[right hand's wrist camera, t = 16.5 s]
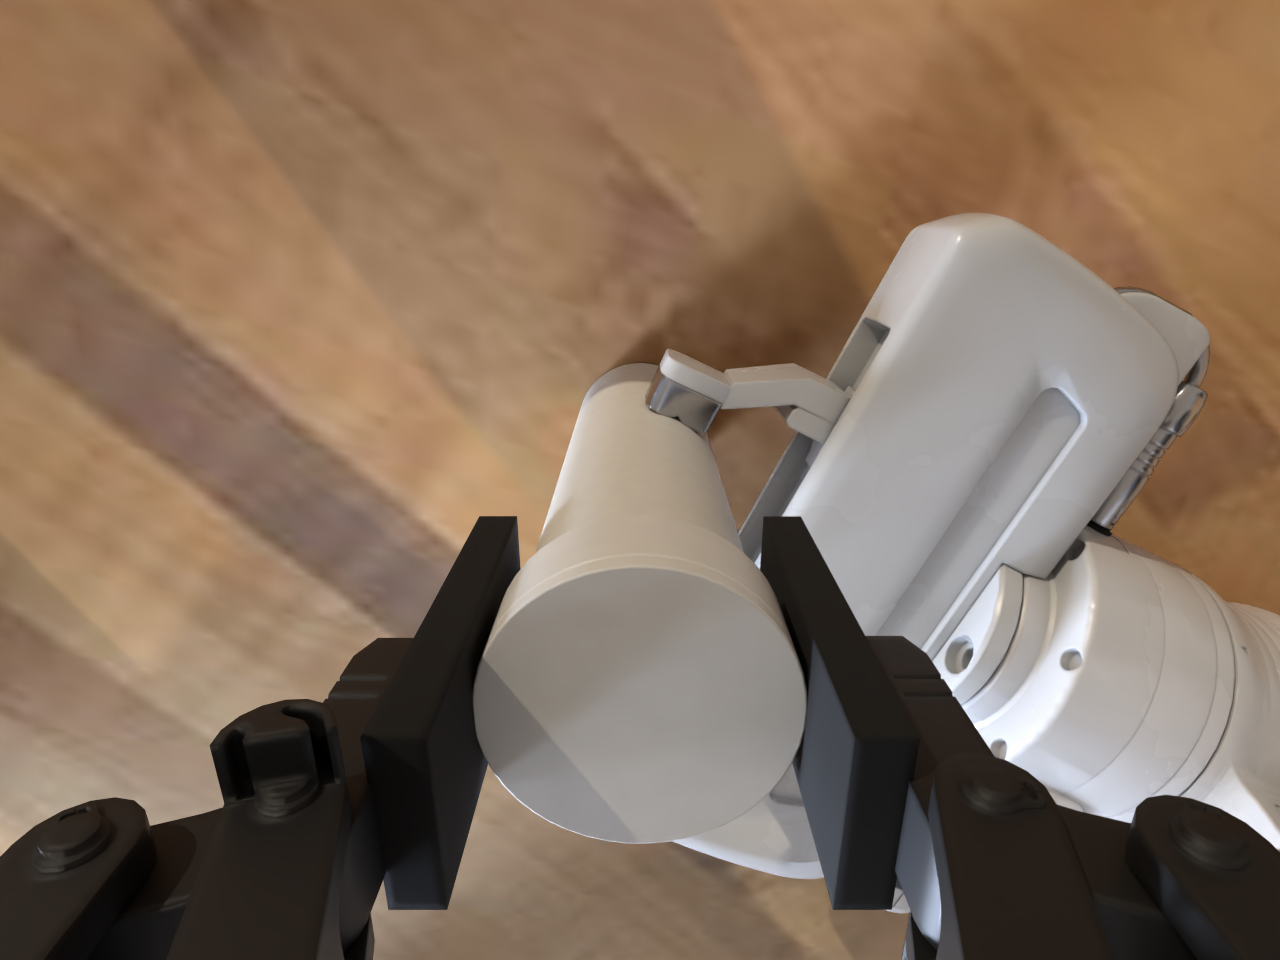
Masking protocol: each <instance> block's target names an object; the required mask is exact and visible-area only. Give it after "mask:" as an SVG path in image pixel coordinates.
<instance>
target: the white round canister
mask: <svg viewBox="0 0 1280 960" xmlns="http://www.w3.org/2000/svg"><path fill="white" fill-rule="evenodd" d="M473 708H474V719H475V728H476V735H477V739H478V742H479V744H480V747H481V749H482V752H483V754H484V757H485V758H486V760H487V762H488V764H489V765H490V767H491V769H492V771H493V772H494V774H495V775H496V776H497V777H498V779H499V780H500V781H501V783H502V784H503V785H504V787H505V788H506V789H507V790H508V791H509V792H510V793H511V794H512V795H513V796H514V797H515V798H516V799H517V800H519V801H520V802H521V803H522V804H524V805H525V806H526V807H528V808H529V809H530V810H531V811H533V812H534V813H536V814H538V815H539V816H541V817H543V818H544V819H546V820H548V821H549V822H551V823H553V824H556V825H558V826H560V827H562V828H564V829H566V830H569V831H572V832H575V833H578V834H581V835H584V836H587V837H591V838H596V839H600V840H605V841H612V842H620V843H641V844H647V843H660V842H669V841H674V840H680V839H685V838H689V837H692V836H696V835H699V834H703V833H706V832H708V831H711V830H713V829H716V828H718V827H720V826H723V825H725V824H727V823H728V822H730V821H732V820H734V819H736V818H738V817H739V816H741V815H743V814H744V813H745V812H747V811H748V810H750V809H751V808H752V807H754V806H755V805H757V804H758V803H759V802H760V801H761V800H762V799H763V798H764V797H765V796H767V795H768V794H769V793H770V792H771V791H772V790H773V788H774V787H775V786H776V785H777V784H778V783H779V781H780V780H781V779H782V778H783V776H784V775H785V773H786V772H787V770H788V768H789V767H790V765H791V764H792V762H793V760H794V758H795V756H796V753H797V751H798V749H799V747H800V744H801V741H802V737H803V734H804V730H805V722H806V712H807V688H806V683H805V678H804V673H803V670H802V667H801V664H800V661H799V659H798V656H797V653H796V650H795V647H794V645H793V642H792V639H791V636H790V634H789V631H788V628H787V625H786V622H785V620H784V617H783V614H782V611H781V608H780V606H779V603H778V600H777V597H776V595H775V593H774V591H773V589H772V588H771V586H770V584H769V582H768V580H767V579H766V577H765V576H764V575H763V573H762V572H761V571H760V569H759V568H758V567H757V566H756V565H755V564H754V563H753V562H752V561H751V560H750V559H749V558H748V557H747V556H746V555H745V554H744V553H743V552H742V551H741V550H739V549H738V548H737V547H736V546H734V545H733V544H732V543H730V542H729V541H727V540H726V539H724V538H722V537H720V536H719V535H717V534H715V533H713V532H711V531H709V530H707V529H704V528H702V527H699V526H697V525H694V524H691V523H688V522H684V521H680V520H677V519H672V518H665V517H658V516H637V515H633V516H623V517H613V518H608V519H604V520H600V521H595V522H592V523H589V524H586V525H583V526H580V527H578V528H575V529H573V530H571V531H569V532H567V533H565V534H563V535H561V536H559V537H557V538H556V539H554V540H553V541H551V542H550V543H548V544H547V545H545V546H544V547H543V548H541V549H540V550H539V551H538V552H537V553H536V554H535V555H533V556H532V557H531V558H530V559H529V560H528V561H527V562H526V563H525V565H524V566H523V567H522V568H521V569H520V571H519V572H518V573H517V574H516V576H515V577H514V579H513V581H512V582H511V584H510V585H509V587H508V589H507V591H506V593H505V595H504V598H503V600H502V602H501V605H500V607H499V610H498V613H497V616H496V618H495V621H494V624H493V627H492V629H491V632H490V635H489V638H488V640H487V643H486V646H485V649H484V651H483V654H482V657H481V659H480V662H479V665H478V669H477V673H476V676H475V680H474V685H473Z"/></svg>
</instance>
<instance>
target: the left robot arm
mask: <svg viewBox="0 0 1280 960" xmlns="http://www.w3.org/2000/svg"><path fill="white" fill-rule="evenodd" d="M1209 342H1210V334H1209V332H1208V330H1207V329H1206V327H1205V326H1204V325H1203V324H1202V323H1201V322H1200V321H1199V320H1198V319H1196V318H1195V317H1194V316H1193V315H1192V314H1191V313H1189V312H1187V311H1186V310H1184V309H1182V308H1180V307H1178V306H1177V305H1175V304H1173V303H1171V302H1169V301H1167V300H1166V299H1164V298H1162V297H1160V296H1158V295H1157V294H1155V293H1153V292H1151V291H1149V290H1146V289H1142V288H1137V287H1130V286H1128V287H1116V288H1112V287H1111V286H1110V285H1108V284H1107V283H1106V282H1105V281H1103V280H1102V279H1101V278H1100V277H1098V276H1097V275H1096V274H1095V273H1093V272H1092V271H1091V270H1090V269H1088V268H1087V267H1085V266H1084V265H1083V264H1081V263H1080V262H1079V261H1077V260H1076V259H1075V258H1073V257H1072V256H1070V255H1069V254H1068V253H1066V252H1065V251H1063V250H1062V249H1060V248H1059V247H1058V246H1056V245H1055V244H1053V243H1051V242H1050V241H1048V240H1047V239H1045V238H1044V237H1042V236H1041V235H1039V234H1037V233H1036V232H1034V231H1033V230H1031V229H1029V228H1027V227H1026V226H1024V225H1022V224H1020V223H1018V222H1016V221H1014V220H1013V219H1010V218H1007V217H1003V216H999V215H995V214H987V213H963V214H957V215H952V216H948V217H945V218H941V219H937V220H934V221H931V222H928V223H925V224H922V225H919V226H917V227H916V228H914V229H913V230H912V231H911V232H910V233H909V235H908V236H907V237H906V239H905V241H904V242H903V244H902V246H901V248H900V249H899V251H898V253H897V255H896V256H895V258H894V260H893V262H892V263H891V265H890V267H889V269H888V270H887V272H886V274H885V276H884V278H883V279H882V281H881V283H880V285H879V286H878V288H877V290H876V292H875V293H874V295H873V297H872V299H871V300H870V302H869V304H868V306H867V307H866V309H865V311H864V313H863V314H862V316H861V318H860V320H859V321H858V323H857V325H856V327H855V328H854V330H853V332H852V334H851V335H850V337H849V339H848V341H847V342H846V344H845V346H844V348H843V349H842V351H841V353H840V355H839V357H838V358H837V360H836V362H835V364H834V365H833V367H832V369H831V371H830V372H829V374H828V376H827V378H824V377H822V376H820V375H817V374H815V373H813V372H811V371H809V370H807V369H805V368H803V367H801V366H799V365H797V364H795V363H788V364H777V365H767V366H756V367H745V368H735V369H726V370H725V372H724V373H722V372H720V371H718V370H716V369H714V368H712V367H710V366H707V365H705V364H703V363H701V362H699V361H697V360H695V359H693V358H691V357H689V356H686V355H684V354H682V353H680V352H677V351H674V350H671V349H667V350H666V352H665V354H664V356H663V358H662V361H661V363H660V365H659V366H658V369H657V371H656V373H655V375H654V377H653V379H652V382H651V384H650V386H649V388H648V390H647V392H646V395H645V398H646V400H645V404H646V405H647V406H648V407H649V408H650V409H652V410H653V411H655V412H657V413H659V414H661V415H663V416H666V417H675V416H678V417H679V419H680V421H681V422H682V424H684V425H685V426H687V427H689V428H691V429H693V430H695V431H698V432H700V433H702V434H704V435H705V434H706V432H707V430H708V428H709V426H710V425H711V423H712V421H713V419H714V417H715V416H716V414H717V412H718V410H719V408H720V409H738V408H754V407H771V406H774V408H775V409H776V410H777V412H778V413H779V415H780V416H781V417H782V419H783V420H784V421H785V423H786V424H787V426H788V427H789V428H791V429H793V430H795V431H796V432H795V434H794V435H793V437H792V439H791V441H790V443H789V444H788V446H787V448H786V450H785V451H784V453H783V455H782V457H781V458H780V460H779V462H778V464H777V465H776V467H775V469H774V471H773V472H772V474H771V476H770V478H769V479H768V481H767V483H766V485H765V486H764V488H763V490H762V492H761V493H760V495H759V497H758V499H757V500H756V502H755V504H754V506H753V507H752V509H751V511H750V513H749V515H748V516H747V518H746V520H745V522H744V523H743V525H742V527H741V529H740V530H739V532H738V535H739V538H740V541H741V544H742V548H743V551H744V554H745V555H746V556H747V557H748V558H749V559H750V560H751V561H752V562H753V563H754V564H755V565H756V566H757V567H758V568H759V569H760V562H761V546H762V531H763V516H801V518H802V520H803V521H804V523H805V525H806V527H807V529H808V531H809V532H810V534H811V536H812V538H813V540H814V542H815V544H816V545H817V547H818V549H819V551H820V553H821V555H822V557H823V558H824V560H825V562H826V564H827V566H828V568H829V570H830V571H831V573H832V575H833V577H834V579H835V581H836V583H837V584H838V586H839V588H840V590H841V592H842V594H843V595H844V597H845V599H846V601H847V603H848V605H849V607H850V608H851V610H852V612H853V614H854V616H855V618H856V620H857V621H858V623H859V625H860V627H861V629H862V631H863V633H864V634H865V636H904V637H905V638H906V639H908V640H909V641H910V642H912V643H913V644H914V645H916V646H917V647H918V648H920V649H921V650H923V651H924V652H925V653H927V655H928V656H929V658H930V659H931V661H932V662H933V664H934V665H935V667H936V668H937V670H938V671H939V673H940V674H941V679H944V680H945V682H946V683H947V685H948V686H949V688H950V689H951V691H952V695H953V697H956V698H957V700H958V702H959V703H960V705H961V706H962V708H963V709H964V711H965V712H966V714H967V715H968V717H969V718H970V720H971V721H972V723H973V724H974V726H975V727H976V729H977V730H978V732H979V733H980V735H981V736H982V738H983V739H984V741H985V742H986V744H987V745H988V747H989V749H990V750H991V752H992V753H993V755H994V756H995V757H997V758H1000V759H1004V760H1007V761H1009V762H1011V763H1012V764H1014V765H1016V766H1018V767H1020V768H1022V769H1024V770H1026V771H1028V772H1029V773H1030V774H1031V775H1032V776H1034V777H1035V778H1036V779H1037V780H1038V781H1040V782H1041V783H1042V784H1043V785H1044V786H1045V787H1046V788H1047V790H1048V792H1049V793H1050V795H1051V796H1052V798H1053V799H1054V801H1055V803H1056V804H1057V805H1060V806H1064V807H1067V808H1070V809H1073V810H1077V811H1081V812H1085V813H1089V814H1093V815H1098V816H1102V817H1106V818H1110V819H1115V820H1119V821H1123V822H1127V823H1132V819H1133V816H1134V813H1135V810H1136V807H1137V806H1138V805H1139V804H1140V803H1141V802H1143V801H1144V800H1145V799H1146V798H1148V797H1154V796H1161V795H1172V796H1179V797H1186V798H1192V799H1195V800H1198V801H1201V802H1203V803H1206V804H1209V805H1212V806H1215V807H1218V808H1220V809H1222V810H1224V811H1225V812H1227V813H1229V814H1231V815H1233V816H1235V817H1236V818H1238V819H1240V820H1242V821H1244V822H1245V823H1247V824H1248V825H1249V826H1251V827H1252V828H1253V829H1254V830H1256V831H1257V832H1258V833H1259V834H1261V835H1262V836H1263V837H1264V838H1265V839H1267V840H1268V841H1269V842H1270V843H1271V844H1272V845H1273V846H1274V847H1275V848H1276V849H1277V850H1278V851H1279V852H1280V615H1278V614H1276V613H1273V612H1271V611H1268V610H1265V609H1261V608H1258V607H1255V606H1250V605H1246V604H1241V603H1236V602H1228V601H1224V600H1223V599H1222V598H1221V596H1220V595H1218V594H1217V593H1216V592H1215V591H1214V590H1213V589H1212V588H1211V587H1209V586H1208V585H1207V584H1206V583H1205V582H1203V581H1202V580H1201V579H1199V578H1198V577H1196V576H1195V575H1193V574H1192V573H1190V572H1188V571H1187V570H1185V569H1183V568H1182V567H1180V566H1178V565H1176V564H1174V563H1171V562H1170V561H1168V560H1166V559H1164V558H1161V557H1159V556H1157V555H1155V554H1153V553H1151V552H1149V551H1147V550H1145V549H1143V548H1141V547H1139V546H1137V545H1134V544H1132V543H1130V542H1128V541H1126V540H1124V539H1122V538H1120V537H1118V536H1116V535H1114V534H1112V533H1111V532H1110V531H1111V530H1112V528H1113V527H1114V525H1115V524H1116V523H1117V522H1118V521H1119V519H1120V518H1121V517H1122V515H1123V514H1124V513H1125V511H1126V510H1127V509H1128V507H1129V506H1130V505H1131V503H1132V502H1133V501H1134V500H1135V498H1136V497H1137V496H1138V494H1139V493H1140V492H1141V490H1142V489H1143V487H1144V486H1145V484H1146V483H1147V481H1148V480H1149V476H1151V475H1152V473H1153V471H1154V467H1156V466H1157V464H1158V463H1159V458H1162V457H1163V455H1164V454H1165V450H1166V449H1167V450H1168V449H1169V447H1170V446H1171V445H1172V443H1173V442H1174V441H1175V439H1176V438H1177V437H1181V436H1182V435H1183V434H1184V433H1185V432H1186V431H1187V430H1188V429H1189V428H1190V426H1191V425H1192V424H1193V422H1194V421H1195V420H1196V418H1197V417H1198V415H1199V413H1200V412H1201V410H1202V408H1203V406H1204V404H1205V402H1206V400H1207V397H1208V393H1207V392H1206V391H1204V390H1202V389H1200V386H1201V384H1202V382H1203V380H1204V377H1205V375H1206V373H1207V369H1208V364H1209V357H1210V347H1209ZM1185 376H1186V377H1185ZM1184 378H1185V379H1184ZM1183 379H1184V381H1182V380H1183ZM672 842H675V843H678V844H680V845H683V846H685V847H688V848H691V849H693V850H696V851H699V852H702V853H705V854H707V855H710V856H713V857H716V858H719V859H722V860H725V861H729V862H732V863H735V864H738V865H741V866H745V867H748V868H752V869H755V870H759V871H762V872H766V873H769V874H773V875H777V876H783V877H788V878H795V879H818V878H824V875H823V871H822V868H821V864H820V861H819V857H818V853H817V850H816V846H815V843H814V839H813V836H812V832H811V828H810V825H809V821H808V818H807V814H806V811H805V807H804V803H803V800H802V796H801V793H800V789H799V785H798V782H797V778H796V775H795V771H794V768H793V764H791V765H790V767H789V768H788V770H787V772H786V773H785V775H784V776H783V778H782V779H781V780H780V781H779V783H778V784H777V785H776V786H775V787H774V788H773V790H772V791H771V792H770V793H769V794H768V795H767V796H765V797H764V798H763V799H762V800H761V801H760V802H759V803H758V804H757V805H755V806H754V807H752V808H751V809H750V810H748V811H747V812H745V813H744V814H743V815H741V816H739V817H738V818H736V819H734V820H732V821H730V822H728V823H727V824H725V825H723V826H720V827H718V828H716V829H713V830H711V831H708V832H706V833H703V834H699V835H696V836H692V837H689V838H685V839H680V840H674V841H672ZM886 911H889V912H894V913H910V908H909V905H908V903H907V900H906V898H905V895H904V893H903V890H902V887H901V885H900V882H899V880H898V877H897V881H896V887H895V893H894V899H893V905H892V910H886Z"/></svg>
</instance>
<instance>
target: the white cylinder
mask: <svg viewBox="0 0 1280 960" xmlns="http://www.w3.org/2000/svg"><path fill="white" fill-rule="evenodd" d="M657 369H658V366H657V365H653V364H648V363H632V364H627V365H623V366H620V367H617V368H614V369H612V370H610V371H609V372H607V373H606V374H604V375H603V376H601V377H600V378H599V379H598V380H597V381H596V382H595V383H594V384H593V385H592V386H591V388H590V389H589V391H588V392H587V394H586V396H585V398H584V400H583V403H582V406H581V409H580V413H579V416H578V419H577V422H576V425H575V429H574V432H573V435H572V438H571V441H570V445H569V448H568V451H567V454H566V457H565V461H564V464H563V467H562V470H561V473H560V477H559V480H558V483H557V486H556V489H555V493H554V496H553V499H552V502H551V505H550V509H549V512H548V515H547V518H546V521H545V524H544V528H543V531H542V534H541V537H540V540H539V544H538V547H537V550H536V553H537V552H538V551H539V550H540V549H541V548H543V547H544V546H545V545H547V544H548V543H550V542H551V541H553V540H554V539H556V538H557V537H559V536H561V535H563V534H565V533H567V532H569V531H571V530H573V529H575V528H578V527H580V526H583V525H586V524H589V523H592V522H595V521H600V520H604V519H608V518H613V517H623V516H633V515H637V516H658V517H665V518H672V519H677V520H680V521H684V522H688V523H691V524H694V525H697V526H699V527H702V528H704V529H707V530H709V531H711V532H713V533H715V534H717V535H719V536H720V537H722V538H724V539H726V540H727V541H729V542H730V543H732V544H733V545H734V546H736V547H737V548H738V549H739V550H741V551H742V552H743V553H744V551H743V548H742V544H741V541H740V538H739V535H738V532H737V528H736V525H735V522H734V519H733V516H732V512H731V509H730V506H729V503H728V499H727V496H726V493H725V490H724V487H723V483H722V480H721V477H720V474H719V471H718V467H717V464H716V461H715V458H714V455H713V451H712V448H711V445H710V442H709V439H708V435H707V432H706V434H705V435H704V434H702V433H700V432H698V431H695V430H693V429H691V428H689V427H687V426H685V425H684V424H682V422H681V421H680V419H679V417H678V416H675V417H666V416H663V415H661V414H659V413H657V412H655V411H653V410H652V409H650V408H649V407H648V406H647V405H646V404H645V400H646V398H645V395H646V392H647V390H648V388H649V386H650V384H651V382H652V379H653V377H654V375H655V373H656V371H657ZM536 553H535V554H536Z"/></svg>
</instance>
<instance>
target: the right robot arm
mask: <svg viewBox="0 0 1280 960" xmlns="http://www.w3.org/2000/svg"><path fill="white" fill-rule="evenodd" d="M519 571H520V556H519V541H518V525H517V516H479V518H478V520H477V522H476V524H475V526H474V528H473V529H472V531H471V533H470V535H469V537H468V539H467V541H466V542H465V544H464V546H463V548H462V550H461V552H460V554H459V555H458V557H457V559H456V561H455V563H454V565H453V567H452V568H451V570H450V572H449V574H448V576H447V578H446V579H445V581H444V583H443V585H442V587H441V589H440V591H439V592H438V594H437V596H436V598H435V600H434V602H433V604H432V605H431V607H430V609H429V611H428V613H427V615H426V617H425V618H424V620H423V622H422V624H421V626H420V628H419V630H418V631H417V633H416V635H415V637H414V638H377V639H376V640H375V641H373V642H372V643H371V644H369V645H368V646H367V647H365V648H364V649H363V650H361V651H360V652H358V653H357V654H356V655H354V656H353V658H352V659H351V661H350V662H349V664H348V665H347V667H346V669H345V670H344V672H343V673H342V675H341V676H340V681H337V682H336V684H335V685H334V687H333V688H332V690H331V691H330V693H329V694H328V699H325V701H324V702H323V703H321V702H317V701H313V700H309V699H295V700H283V701H279V702H275V703H271V704H267V705H263V706H261V707H258V708H256V709H254V710H252V711H250V712H248V713H245V714H243V715H241V716H239V717H238V718H237V719H235V720H234V721H233V722H231V723H230V724H229V725H227V726H226V727H225V728H223V729H222V730H221V731H220V732H219V734H218V735H217V736H216V738H215V739H214V740H213V742H212V743H211V744H210V749H211V753H212V757H213V760H214V764H215V768H216V772H217V776H218V780H219V784H220V788H221V792H222V796H223V800H224V803H225V804H224V806H223V808H220V809H217V810H213V811H210V812H207V813H204V814H199V815H195V816H191V817H187V818H182V819H178V820H174V821H170V822H165V823H161V824H157V825H153V826H150V825H149V821H148V818H147V815H146V811H145V810H144V809H143V808H142V807H141V806H140V805H139V804H138V803H137V802H135V801H134V800H128V799H121V798H108V799H101V800H94V801H89V802H86V803H83V804H81V805H78V806H75V807H72V808H69V809H66V810H64V811H61V812H60V813H58V814H56V815H54V816H52V817H51V818H49V819H47V820H45V821H43V822H42V823H40V824H38V825H36V826H35V827H33V828H32V829H31V830H30V831H28V832H27V833H26V834H25V835H24V836H22V837H21V838H20V839H19V840H17V841H16V842H15V843H14V844H13V845H11V846H10V848H9V849H8V850H7V851H6V852H5V853H4V854H3V855H2V856H1V857H0V960H373V952H374V942H375V939H374V932H373V925H372V919H371V914H370V912H371V910H372V907H373V905H374V902H375V899H376V897H377V894H378V892H379V889H380V887H381V884H382V881H383V879H384V885H385V891H386V897H387V903H388V910H447V908H448V905H449V901H450V898H451V894H452V890H453V887H454V883H455V880H456V876H457V873H458V869H459V865H460V862H461V858H462V855H463V851H464V847H465V844H466V840H467V837H468V833H469V830H470V826H471V822H472V819H473V815H474V812H475V808H476V805H477V801H478V797H479V794H480V790H481V787H482V783H483V779H484V776H485V772H486V769H487V765H488V762H487V760H486V758H485V757H484V754H483V752H482V749H481V747H480V744H479V742H478V739H477V735H476V728H475V719H474V708H473V685H474V680H475V676H476V673H477V669H478V665H479V662H480V659H481V657H482V654H483V651H484V649H485V646H486V643H487V640H488V638H489V635H490V632H491V629H492V627H493V624H494V621H495V618H496V616H497V613H498V610H499V607H500V605H501V602H502V600H503V598H504V595H505V593H506V591H507V589H508V587H509V585H510V584H511V582H512V581H513V579H514V577H515V576H516V574H517V573H518V572H519ZM760 571H761V572H762V573H763V575H764V576H765V577H766V579H767V580H768V582H769V584H770V586H771V588H772V589H773V591H774V593H775V595H776V597H777V600H778V603H779V606H780V608H781V611H782V614H783V617H784V620H785V622H786V625H787V628H788V631H789V634H790V636H791V639H792V642H793V645H794V647H795V650H796V653H797V656H798V659H799V661H800V664H801V667H802V670H803V673H804V678H805V683H806V688H807V712H806V722H805V730H804V734H803V737H802V741H801V744H800V747H799V749H798V751H797V753H796V756H795V758H794V760H793V762H792V764H793V768H794V771H795V775H796V778H797V782H798V785H799V789H800V793H801V796H802V800H803V803H804V807H805V811H806V814H807V818H808V821H809V825H810V828H811V832H812V836H813V839H814V843H815V846H816V850H817V853H818V857H819V861H820V864H821V868H822V871H823V875H824V879H825V882H826V886H827V889H828V893H829V896H830V900H831V904H832V907H833V910H892V905H893V899H894V893H895V887H896V881H897V877H898V880H899V882H900V885H901V887H902V890H903V893H904V895H905V898H906V900H907V903H908V905H909V908H910V914H909V919H908V925H907V931H906V936H905V942H904V947H903V953H902V959H901V960H1280V852H1279V851H1278V850H1277V849H1276V848H1275V847H1274V846H1273V845H1272V844H1271V843H1270V842H1269V841H1268V840H1267V839H1265V838H1264V837H1263V836H1262V835H1261V834H1259V833H1258V832H1257V831H1256V830H1254V829H1253V828H1252V827H1251V826H1249V825H1248V824H1247V823H1245V822H1244V821H1242V820H1240V819H1238V818H1236V817H1235V816H1233V815H1231V814H1229V813H1227V812H1225V811H1224V810H1222V809H1220V808H1218V807H1215V806H1212V805H1209V804H1206V803H1203V802H1201V801H1198V800H1195V799H1192V798H1186V797H1179V796H1172V795H1161V796H1154V797H1148V798H1146V799H1145V800H1144V801H1143V802H1141V803H1140V804H1139V805H1138V806H1137V807H1136V810H1135V813H1134V816H1133V819H1132V823H1127V822H1123V821H1119V820H1115V819H1110V818H1106V817H1102V816H1098V815H1093V814H1089V813H1085V812H1081V811H1077V810H1073V809H1070V808H1067V807H1064V806H1060V805H1057V804H1056V803H1055V801H1054V799H1053V798H1052V796H1051V795H1050V793H1049V792H1048V790H1047V788H1046V787H1045V786H1044V785H1043V784H1042V783H1041V782H1040V781H1038V780H1037V779H1036V778H1035V777H1034V776H1032V775H1031V774H1030V773H1029V772H1028V771H1026V770H1024V769H1022V768H1020V767H1018V766H1016V765H1014V764H1012V763H1011V762H1009V761H1007V760H1004V759H1000V758H997V757H995V756H994V755H993V753H992V752H991V750H990V749H989V747H988V745H987V744H986V742H985V741H984V739H983V738H982V736H981V735H980V733H979V732H978V730H977V729H976V727H975V726H974V724H973V723H972V721H971V720H970V718H969V717H968V715H967V714H966V712H965V711H964V709H963V708H962V706H961V705H960V703H959V702H958V700H957V698H956V697H953V695H952V691H951V689H950V688H949V686H948V685H947V683H946V682H945V680H944V679H941V674H940V673H939V671H938V670H937V668H936V667H935V665H934V664H933V662H932V661H931V659H930V658H929V656H928V655H927V653H925V652H924V651H923V650H921V649H920V648H918V647H917V646H916V645H914V644H913V643H912V642H910V641H909V640H908V639H906V638H905V637H904V636H865V634H864V633H863V631H862V629H861V627H860V625H859V623H858V621H857V620H856V618H855V616H854V614H853V612H852V610H851V608H850V607H849V605H848V603H847V601H846V599H845V597H844V595H843V594H842V592H841V590H840V588H839V586H838V584H837V583H836V581H835V579H834V577H833V575H832V573H831V571H830V570H829V568H828V566H827V564H826V562H825V560H824V558H823V557H822V555H821V553H820V551H819V549H818V547H817V545H816V544H815V542H814V540H813V538H812V536H811V534H810V532H809V531H808V529H807V527H806V525H805V523H804V521H803V520H802V518H801V516H763V531H762V546H761V562H760Z"/></svg>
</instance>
